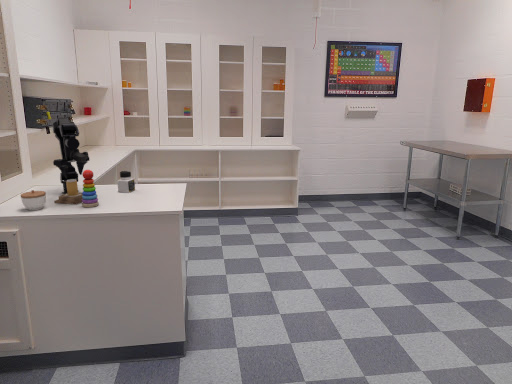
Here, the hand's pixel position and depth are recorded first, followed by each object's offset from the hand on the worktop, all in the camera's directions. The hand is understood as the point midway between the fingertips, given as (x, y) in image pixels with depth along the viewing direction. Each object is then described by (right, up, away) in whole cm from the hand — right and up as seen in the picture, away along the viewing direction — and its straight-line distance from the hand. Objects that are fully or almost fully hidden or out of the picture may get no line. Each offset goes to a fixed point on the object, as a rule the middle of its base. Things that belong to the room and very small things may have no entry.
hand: (73, 176), depth 200 cm
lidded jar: (-13, -17, -13) cm, 25 cm away
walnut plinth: (-1, -13, +2) cm, 13 cm away
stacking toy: (+12, -16, -8) cm, 21 cm away
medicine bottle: (+21, -8, +22) cm, 31 cm away
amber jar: (-1, -10, +1) cm, 10 cm away
